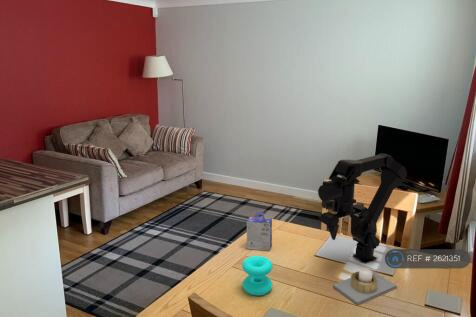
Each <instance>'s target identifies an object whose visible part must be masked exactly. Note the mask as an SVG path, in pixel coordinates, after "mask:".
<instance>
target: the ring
mask: <svg viewBox="0 0 476 317" xmlns="http://www.w3.org/2000/svg"><path fill="white" fill-rule="evenodd" d="M350 278H351V286H352V288H353V289H355V290H356V291H358V292H361V293H372V292H375V291H376V289H377V278H376V277H375V276H374V275H373V274H372V282H371V283H362V282H359V281H358V280H359V271H355V272H352V274H351V275H350Z"/></svg>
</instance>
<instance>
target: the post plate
mask: <svg viewBox="0 0 476 317" xmlns="http://www.w3.org/2000/svg"><path fill="white" fill-rule="evenodd" d="M358 270H359V280H358V281H359V282H362V283H371V282H372V274H373V275H374V276H375V277H376V278H377V289H376V291H375V292H372V293H361V292H358V291H356V290H355V289H353V288H352V286H351V277H350V278H347V279H345V280H342V281H339V282H336V283H334V284H332V288H333V289H334V290H336V291H337V292H339V293H340V294H341V295H343V296H344V297H345V298H347V299H348V300H350V301H351V302H352V303H354V304H355V305H357V306H359V305H361V304H363V303H366V302H368V301H370V300H372V299H376V298H377V297H380V296H382V295H384V294H387V293H388V292H391V291H394V290H395V289H397V288H398V287H397V286H398V285H397V284H396V283H394V282H393V281H391V280H389V279H387V278H385V277H383V276H382V275H380V274H379V273H377V272H375V271H374V270H372V269H369V268H366V267H365V268H363V267H362V268H360V269H358Z"/></svg>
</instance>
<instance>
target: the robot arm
mask: <svg viewBox="0 0 476 317" xmlns="http://www.w3.org/2000/svg"><path fill="white" fill-rule="evenodd" d="M376 169H379V170H380V184H379V186H378V188H377V190H376V192H375V194H374V196H373V198H372V199H371V202H370V204H369V206H368V207H366V206H363V205H361V204H359V203H357V199H356V198H355V187H356V184H359V183H360V180H359V179H358V178H360V177H361V176H362V174H363V173H366V172H368V171H372V170H376ZM407 176H408V172H407V169H406V167H405V166H403V165H402V164H401V163H400V162H398V161H397V160H395V159H394V158H393V156H392V155H389V154H387V153H383V152H382V153H378V154H377V155H372V156H368V157H364V158H361V159H357V160H356V159H340V160H339V161H337V163H336V165H335V166H334V168H333V169H332V172H331V173H330V175H329V177H328V179H329V180H323V181H322V185H320V186H319V187H318V189H317V194H318V197H319V199H320V201H321V207H322V209H325V210H327V211H326V212H322V213H320V214H319V218H318V221H319V222H321V223H322V224H324V225H326V227H327V228H328V232H329V234H330V237H331V240H333V241H335V240H336V238H337V235H338V232H339V227H340V224H339V223H340V219H343V218H347V217H348V218H349V217H350V235H351V237H352V240H353V241H354V242H357V243H356V247H355V253H354V254H352V257H353V258H355V259H357V260H358V261H360V262H362V263H364V264H368V263H371V262H373V261H376V260H377V257H376V256H375V249H377V247H379V245H380V243H381V240H380V239H379V238H378V237H377V236H376V235H377V233H378V226H377V222H378V221H379V219H380V217H381V214H382V212H383V211H384V208H385V206H386V205H387V202H388V201H389V199H390V198H391V196H392V193H393V191H394V190H395V189H396V188H398V187H399V186H401V185H402V183H403V182H404V181H405V179H406V178H407ZM356 203H357V204H356ZM328 210H331V211H332V212H330V211H328ZM335 212H336V213H335Z"/></svg>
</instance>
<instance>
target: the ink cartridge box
mask: <svg viewBox="0 0 476 317" xmlns="http://www.w3.org/2000/svg"><path fill="white" fill-rule="evenodd" d="M259 215H261V216H259ZM272 246H273V219H272V217H265V213H264V212H255V216H249V217H248V219H247V220H246V249H247V250H254V251H257V250H258V251H267V252H269V251H271V249H272Z"/></svg>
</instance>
